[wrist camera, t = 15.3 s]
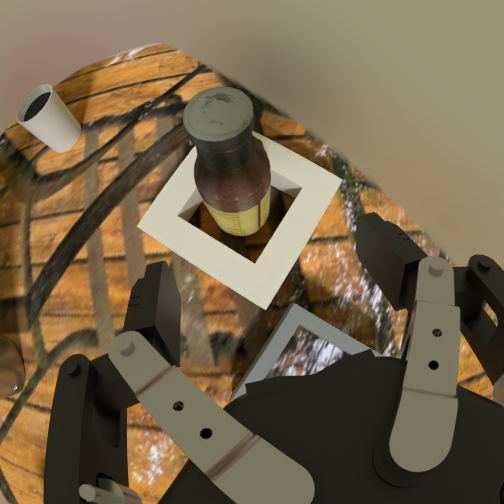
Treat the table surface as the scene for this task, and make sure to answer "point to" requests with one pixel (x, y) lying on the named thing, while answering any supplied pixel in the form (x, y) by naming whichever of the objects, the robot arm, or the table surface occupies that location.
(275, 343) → the frame
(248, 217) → the sauce bottle
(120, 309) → the table surface
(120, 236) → the table surface
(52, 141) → the white coffee cup
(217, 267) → the socket collar
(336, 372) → the robot arm
